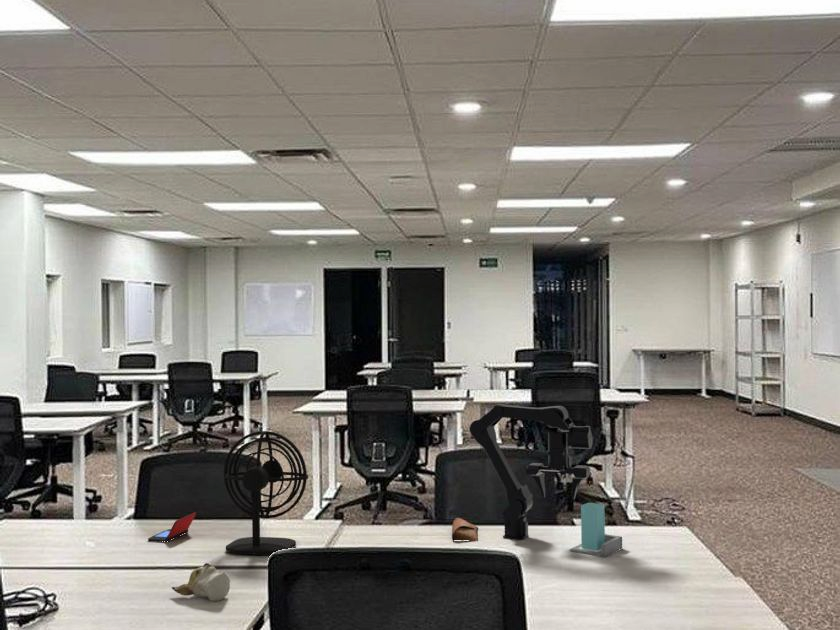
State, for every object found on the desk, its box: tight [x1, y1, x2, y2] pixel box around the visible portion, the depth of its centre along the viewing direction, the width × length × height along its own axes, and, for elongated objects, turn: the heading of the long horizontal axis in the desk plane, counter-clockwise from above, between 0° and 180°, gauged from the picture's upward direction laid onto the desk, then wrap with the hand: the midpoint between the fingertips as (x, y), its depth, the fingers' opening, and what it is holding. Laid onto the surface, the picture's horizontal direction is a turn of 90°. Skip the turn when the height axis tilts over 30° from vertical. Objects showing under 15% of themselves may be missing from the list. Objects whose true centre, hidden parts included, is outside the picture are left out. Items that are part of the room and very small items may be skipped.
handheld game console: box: [147, 511, 197, 543], centre depth 273 cm, size 12×11×7 cm
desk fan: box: [223, 430, 309, 556], centre depth 258 cm, size 27×18×35 cm, turn 78°
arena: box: [569, 533, 623, 558], centre depth 251 cm, size 11×11×4 cm
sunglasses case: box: [451, 517, 479, 542], centre depth 271 cm, size 18×7×7 cm
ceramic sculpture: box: [171, 562, 231, 602], centre depth 214 cm, size 11×9×15 cm
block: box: [580, 502, 606, 551], centre depth 251 cm, size 5×5×12 cm
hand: (558, 498), depth 261 cm, fingers open, 9 cm apart
